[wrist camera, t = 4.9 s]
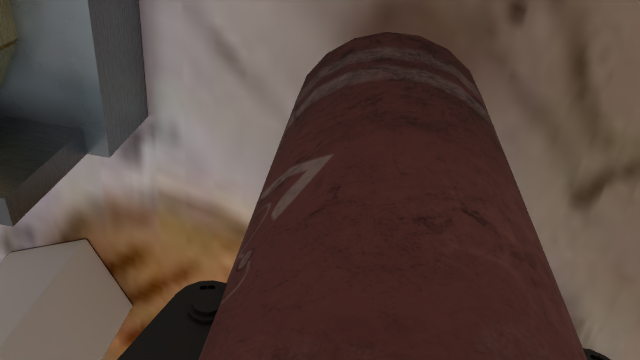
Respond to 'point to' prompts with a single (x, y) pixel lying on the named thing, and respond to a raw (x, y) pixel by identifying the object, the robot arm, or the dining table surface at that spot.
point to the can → (391, 226)
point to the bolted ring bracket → (64, 91)
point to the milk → (58, 304)
